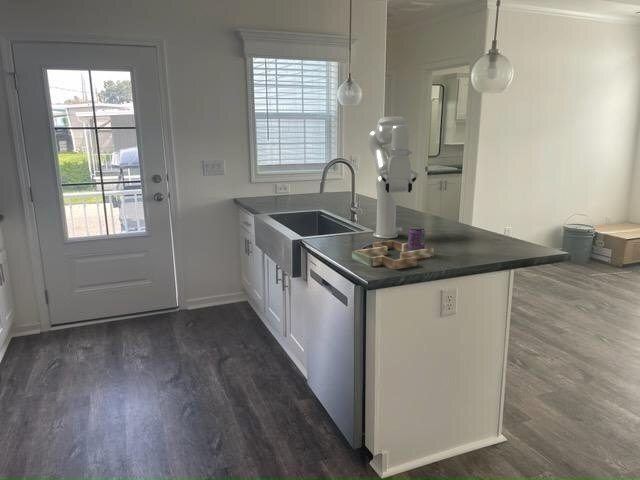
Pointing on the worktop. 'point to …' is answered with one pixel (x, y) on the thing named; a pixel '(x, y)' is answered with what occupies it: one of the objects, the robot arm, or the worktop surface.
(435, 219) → the worktop surface
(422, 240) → the beverage can
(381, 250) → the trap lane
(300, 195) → the worktop surface
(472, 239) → the worktop surface
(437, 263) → the worktop surface
